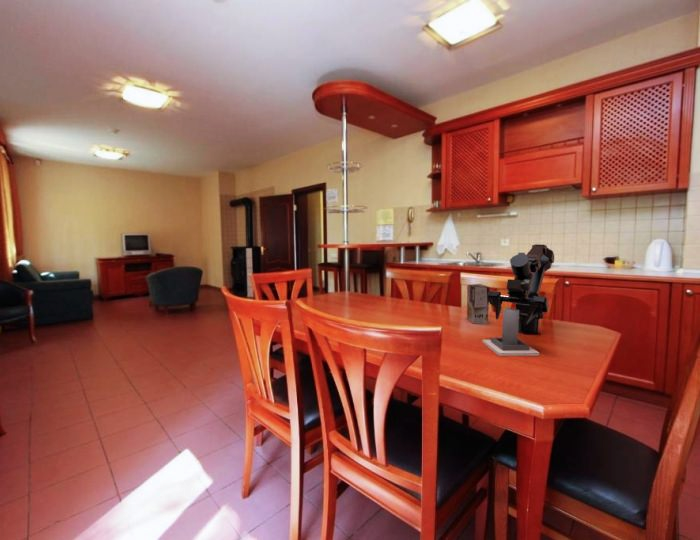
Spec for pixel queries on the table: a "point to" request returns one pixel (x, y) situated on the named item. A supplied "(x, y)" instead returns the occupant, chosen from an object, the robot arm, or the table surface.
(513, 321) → the slate post
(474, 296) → the coffee box
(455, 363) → the table surface
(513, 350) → the seat board
